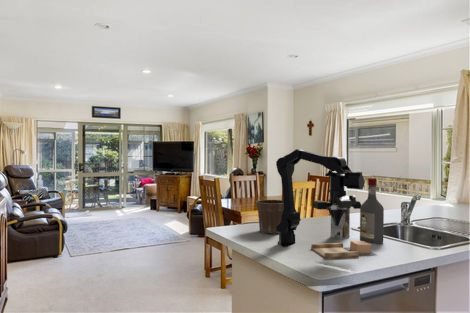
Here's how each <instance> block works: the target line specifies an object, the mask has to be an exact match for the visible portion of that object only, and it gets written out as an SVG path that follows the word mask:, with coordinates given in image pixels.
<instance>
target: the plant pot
mask: <svg viewBox="0 0 470 313" xmlns="http://www.w3.org/2000/svg"><path fill="white" fill-rule="evenodd" d="M255 203H256V209H257V215H258V222H259V223H258V227H259V232H260V233H261V234H267V235H269V234H271V235H279V232H277V229H276V227H277V226H278V225H279V224H280V223H281V216H282V213H283V210H284V204H283V199H282V200H281V199H261V200H260V199H259V200H255Z"/></svg>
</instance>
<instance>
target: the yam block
mask: <svg viewBox="0 0 470 313" xmlns="http://www.w3.org/2000/svg"><path fill="white" fill-rule="evenodd" d="M349 242H350V244H349V248H350V249H351V250H352V251H358V252H359V253H371V252H372V243H367V242H364V241H360V240H349Z"/></svg>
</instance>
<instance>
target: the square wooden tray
mask: <svg viewBox="0 0 470 313" xmlns="http://www.w3.org/2000/svg"><path fill="white" fill-rule="evenodd" d="M310 248H311V250H312V251H313V252H315V253H316V254H317V255H319V256H321V257H322V258H323V259H325V260H331V259H348V258H349V259H350V258H352V259H353V258H354V259H355V258H359V257H360V256H359V252H358V251H351V252H350V251H348V250H346V249H344V248H345V247H344V243H343V242H335V243H334V242H333V243H332V242H329V243H311V247H310Z"/></svg>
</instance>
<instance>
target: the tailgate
mask: <svg viewBox="0 0 470 313" xmlns="http://www.w3.org/2000/svg"><path fill="white" fill-rule="evenodd" d="M343 248H344V249H346V250H348V251H350V252H351V251H352V250H351V249H350V247H343ZM371 256H378V254H377V253H374V252H372V251H371V253H359V257H371Z"/></svg>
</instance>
